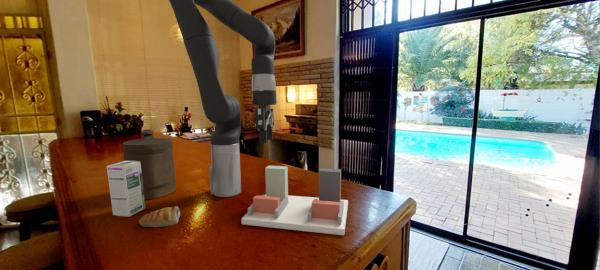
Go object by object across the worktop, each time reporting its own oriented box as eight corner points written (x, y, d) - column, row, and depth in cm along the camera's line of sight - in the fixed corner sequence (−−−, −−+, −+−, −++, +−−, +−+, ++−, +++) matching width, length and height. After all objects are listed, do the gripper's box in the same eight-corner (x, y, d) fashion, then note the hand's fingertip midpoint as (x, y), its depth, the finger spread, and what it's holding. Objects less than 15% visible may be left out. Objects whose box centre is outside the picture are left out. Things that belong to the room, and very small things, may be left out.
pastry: (136, 231, 63) (134, 217, 63) (143, 220, 69) (142, 206, 69) (178, 225, 66) (177, 211, 66) (181, 214, 72) (180, 201, 72)
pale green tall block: (266, 200, 77) (265, 168, 76) (269, 196, 80) (268, 165, 79) (285, 202, 76) (284, 169, 75) (288, 198, 79) (287, 166, 77)
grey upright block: (318, 204, 74) (318, 171, 72) (320, 200, 77) (320, 168, 75) (339, 206, 72) (340, 172, 71) (340, 202, 75) (341, 169, 74)
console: (241, 224, 66) (240, 203, 65) (266, 198, 83) (266, 181, 83) (344, 235, 60) (344, 213, 59) (348, 204, 77) (348, 187, 77)
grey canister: (176, 183, 100) (171, 126, 97) (176, 195, 86) (171, 130, 83) (130, 189, 93) (124, 128, 90) (123, 203, 80) (115, 133, 77)
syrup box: (129, 217, 71) (124, 165, 69) (111, 215, 72) (105, 164, 70) (146, 208, 76) (141, 160, 74) (129, 207, 77) (124, 160, 75)
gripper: (258, 92, 88) (260, 139, 90) (245, 88, 74) (248, 144, 76) (279, 91, 88) (281, 138, 89) (270, 87, 73) (273, 143, 75)
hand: (266, 141), depth 82 cm, fingers open, 8 cm apart
